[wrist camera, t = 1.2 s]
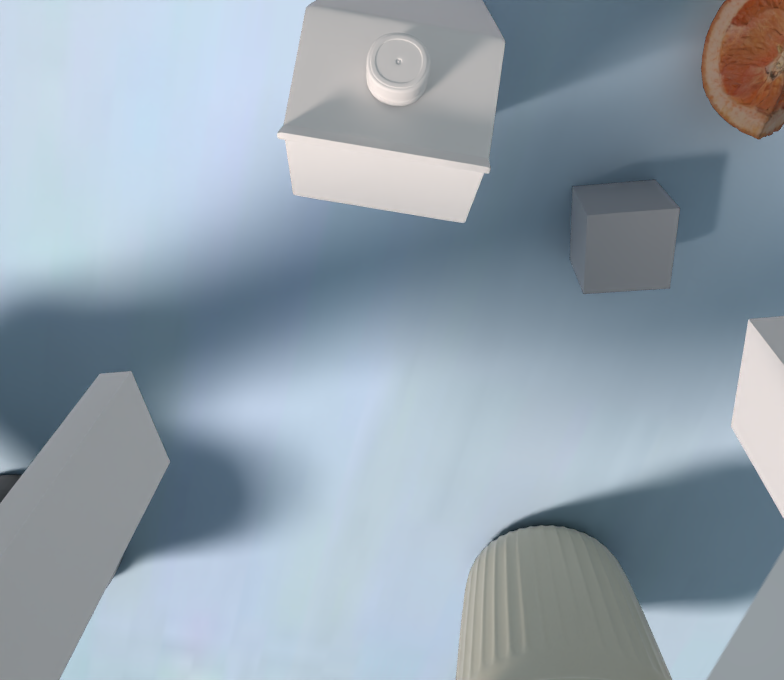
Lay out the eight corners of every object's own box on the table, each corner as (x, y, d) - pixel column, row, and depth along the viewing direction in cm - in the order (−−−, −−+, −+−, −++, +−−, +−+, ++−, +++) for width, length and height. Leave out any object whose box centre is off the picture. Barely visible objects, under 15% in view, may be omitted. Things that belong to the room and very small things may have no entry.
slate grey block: (569, 258, 44) (583, 293, 40) (572, 185, 41) (587, 215, 37) (647, 253, 43) (669, 288, 39) (654, 179, 41) (679, 208, 36)
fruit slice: (773, 128, 39) (814, 153, 34) (664, 104, 38) (691, 126, 34) (854, -33, 34) (913, -27, 30) (731, -62, 34) (772, -60, 30)
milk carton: (457, 129, 40) (468, 266, 24) (340, 109, 39) (271, 234, 23) (483, -2, 36) (517, 56, 20) (354, -25, 36) (283, 16, 20)
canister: (401, 570, 61) (385, 833, 44) (539, 460, 53) (588, 728, 35) (542, 649, 66) (580, 914, 49) (688, 560, 58) (797, 839, 40)
